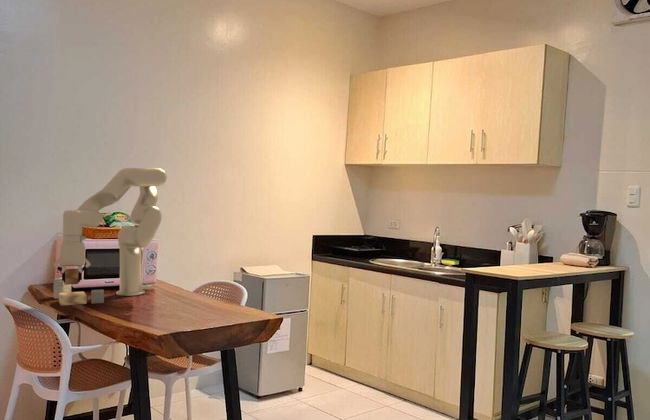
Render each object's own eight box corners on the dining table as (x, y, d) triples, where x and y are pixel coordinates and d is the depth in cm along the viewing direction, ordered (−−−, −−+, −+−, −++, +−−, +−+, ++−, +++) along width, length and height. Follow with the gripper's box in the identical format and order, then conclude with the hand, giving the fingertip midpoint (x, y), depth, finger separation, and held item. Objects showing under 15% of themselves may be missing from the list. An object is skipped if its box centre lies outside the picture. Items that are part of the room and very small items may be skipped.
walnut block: (78, 282, 251) (78, 268, 251) (78, 284, 246) (78, 269, 246) (65, 282, 249) (66, 268, 249) (65, 284, 244) (65, 270, 244)
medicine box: (63, 298, 256) (63, 279, 256) (53, 298, 256) (53, 279, 256) (71, 295, 264) (71, 276, 264) (61, 295, 264) (61, 276, 264)
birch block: (83, 300, 255) (83, 291, 255) (86, 304, 246) (86, 295, 246) (58, 302, 250) (58, 293, 250) (60, 306, 241) (60, 296, 241)
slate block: (104, 301, 253) (104, 289, 253) (103, 303, 248) (103, 291, 248) (91, 301, 251) (91, 290, 251) (91, 303, 246) (91, 291, 246)
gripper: (94, 238, 254) (93, 280, 254) (51, 238, 248) (50, 281, 248) (93, 239, 247) (93, 282, 247) (49, 240, 241) (49, 283, 241)
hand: (71, 281), depth 247 cm, fingers closed on walnut block, 5 cm apart
